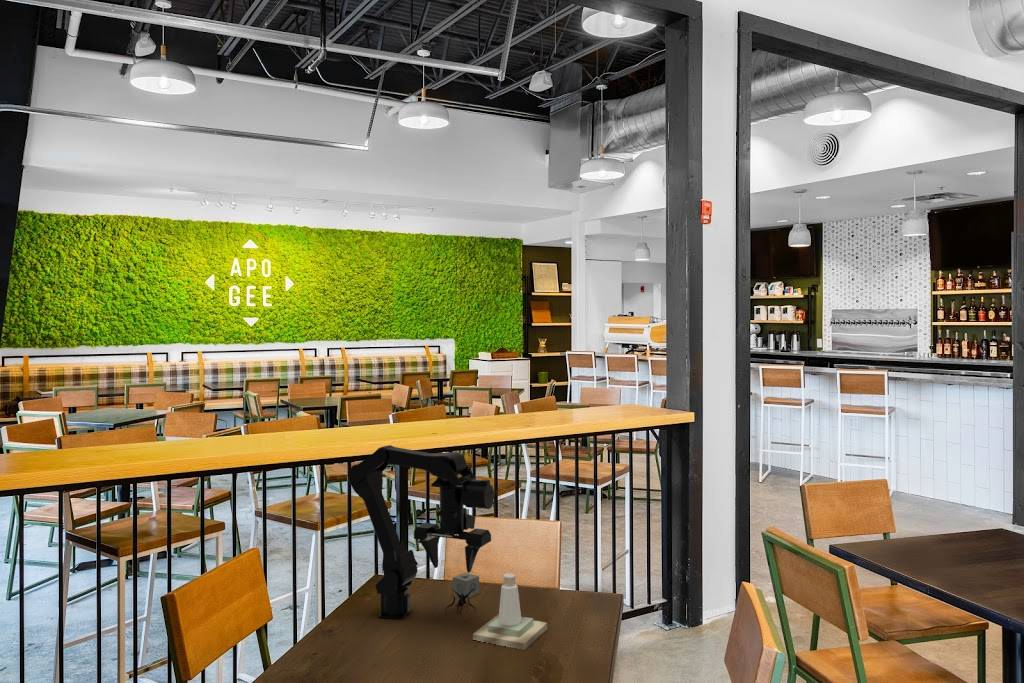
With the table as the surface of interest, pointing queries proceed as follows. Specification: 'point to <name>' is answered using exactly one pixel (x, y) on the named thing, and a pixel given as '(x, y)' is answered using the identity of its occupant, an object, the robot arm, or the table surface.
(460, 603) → the creature
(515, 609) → the salt shaker
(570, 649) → the table surface
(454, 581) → the dice cube
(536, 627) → the plinth
